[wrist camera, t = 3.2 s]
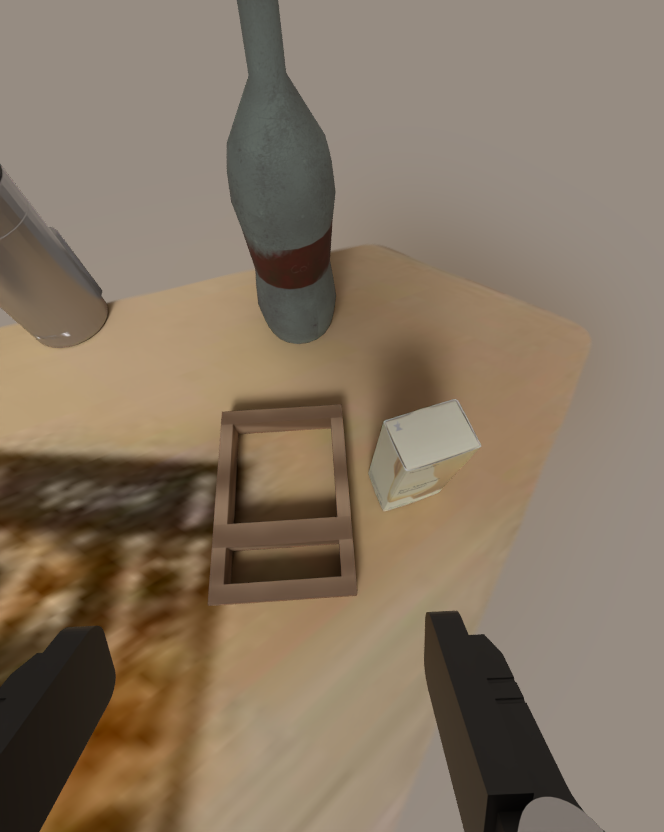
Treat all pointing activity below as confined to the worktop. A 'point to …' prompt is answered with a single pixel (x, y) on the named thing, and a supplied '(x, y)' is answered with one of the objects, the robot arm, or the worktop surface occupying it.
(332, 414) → the slot holder
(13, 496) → the worktop surface
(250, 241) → the bottle
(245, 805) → the worktop surface
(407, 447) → the skincare box
